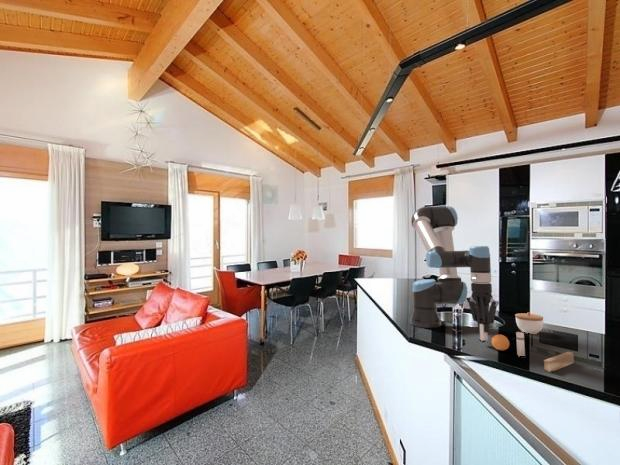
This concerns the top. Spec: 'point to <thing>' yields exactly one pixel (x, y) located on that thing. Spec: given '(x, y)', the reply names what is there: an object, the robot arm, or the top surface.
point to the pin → (520, 344)
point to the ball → (500, 342)
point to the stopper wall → (558, 361)
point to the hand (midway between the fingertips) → (484, 339)
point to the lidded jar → (529, 322)
